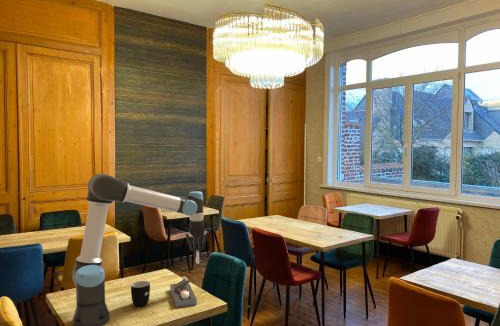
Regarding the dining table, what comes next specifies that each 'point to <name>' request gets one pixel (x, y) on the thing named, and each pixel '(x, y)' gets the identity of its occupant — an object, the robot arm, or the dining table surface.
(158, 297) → the dining table surface
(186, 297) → the cream button
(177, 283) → the rocker
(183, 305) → the panel
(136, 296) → the mug
